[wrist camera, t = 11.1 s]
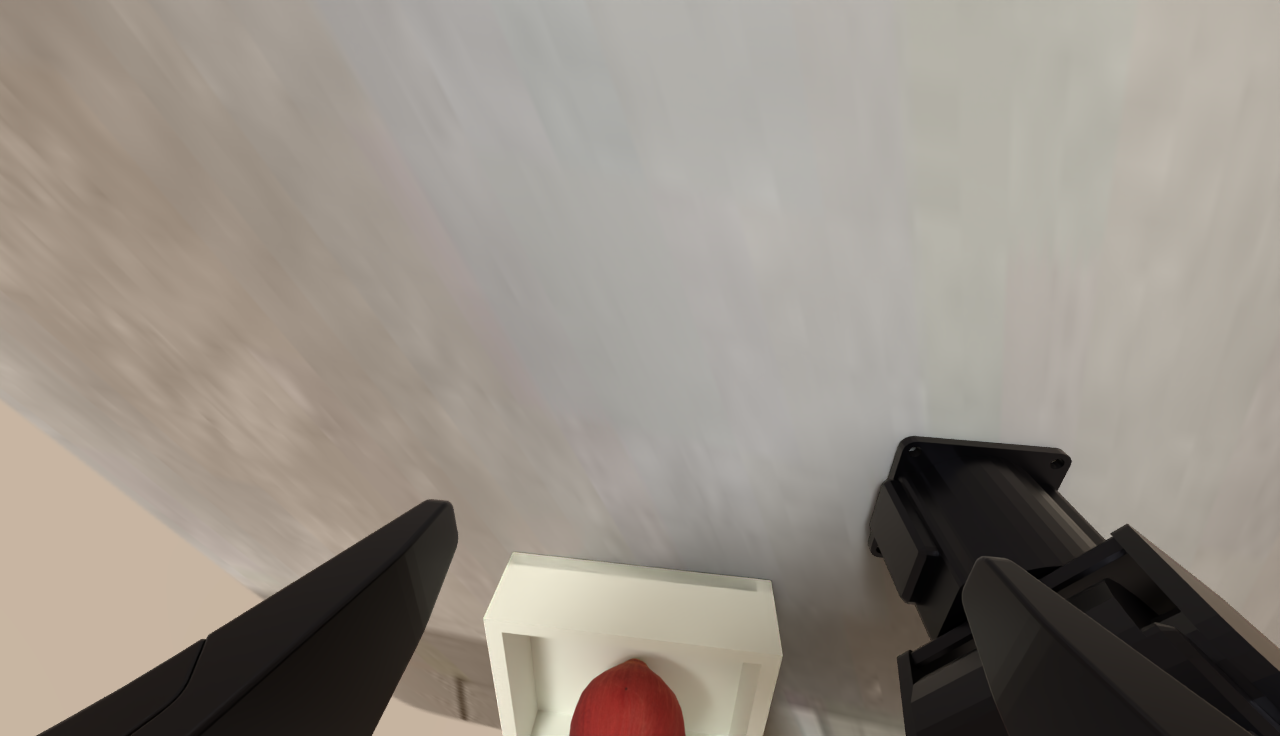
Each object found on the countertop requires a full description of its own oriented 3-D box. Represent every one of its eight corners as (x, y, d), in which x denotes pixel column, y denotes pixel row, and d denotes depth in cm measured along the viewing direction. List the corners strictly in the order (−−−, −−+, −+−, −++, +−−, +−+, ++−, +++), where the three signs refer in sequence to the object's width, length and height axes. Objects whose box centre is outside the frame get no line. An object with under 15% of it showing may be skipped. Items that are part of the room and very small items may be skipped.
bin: (771, 580, 25) (782, 655, 22) (739, 731, 31) (744, 809, 28) (512, 551, 26) (483, 618, 23) (530, 702, 32) (509, 774, 29)
